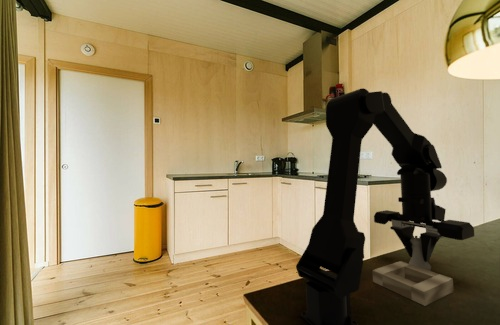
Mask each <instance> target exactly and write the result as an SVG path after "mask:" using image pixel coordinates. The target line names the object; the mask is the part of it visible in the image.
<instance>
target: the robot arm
mask: <svg viewBox="0 0 500 325" xmlns="http://www.w3.org/2000/svg"><path fill="white" fill-rule="evenodd" d="M325 126H326V128H327V130H328V132H329V134H330V136H331V147H330V154H329V155H330V156H329V165H328V171H327V181H326V189H325V198H324V206H323V212H322V215H321V217H320V218H319V219H318V221H317V222H316V223H315V225H314V226H313V227H312V229H311V234H310V237H309V241H308V245H307V246H306V248H305V250H304V251H303V253H302V255H301V257H300V258H299V260H298V261H297V263H296V265H295V266H296V267H295V269H296V271H297V272H296V273H297V274H298V277H300V278H302V279H304V280H307V281H308V282H307V281H306V282H305V293H306V310H303V311H301V312H300V316H301V318H302V319H304V320H305V321H306V322H307V323H308V324H310V325H359V323H358V321H357V320H355V319H354V318H352V317H351V295H350V294H352V293H355V292H357V291H359V288H360V283H361V278H362V269H363V265H364V259H365V254H364V253H365V250H364V249H365V243H366V236H365V233H364V232H362V231H359V229H358V227H357V224H356V223H355V220H354V217H355V210H356V209H355V208H356V201H357V200H356V199H357V190H358V189H357V188H358V180H359V168H360V159H361V150H362V142H363V139H364V138H365V136H366V135H367V134H368V133H369V131H370V130H371V129H372V127H373V126H375V128H376V129H377V130H378V131H379V132H380V133H381V135H382V136H383V137H384V139H385V140H386V141H387V142H388V143H389V144H390V146H391V147H392V150H391V156H392V158H393V159H394V161H395V162H396V164H397V165H398V167H400V168H399V169H398V171H397V172H396V175H398V176H400V192H401V197H398V199H397V200H398V201H397V202H399V203H401V210H402V213H400V212H399V211H392V210H380V211H376V212H375V214H374V215H373V222H374V223H375V224H380V225H386V224H388V223H389V222H391V226H389V227H390V228H389V229H390V230H393V232H394V233H395V235H396V236H397V238H398V239H399V240H400V243H402V246H403V247H404V248H405V251H406V253H407V254H408V255H409V257H410V258H412V252H413V249H412V243H411V241H410V240H411V238H412V236H414V232H415V229H416V227H418V228H422V229H425V232H422V233H420V236H421V244H422V253H423V258H424V261H425V262H428V263H429V261H430V259H431V256H432V254H433V252H434V250H435V247H436V244H437V243H438V242H439V240H440V239H441V238H447V239H451V240H457V241H463V240H467V239H470V238H474V237H475V228H474V225H472V224H471V223H470V222H467V221H461V220H454V219H447V220H445V217H446V208H444V207H442V206H441V205H439V204H436V202H435V197H432V193H431V192H434V191H439V190H442V189H443V188H444V187H445V186H446V185H447V183H448V182H447V181H448V179H447V177H446V175H445V173H444V172H443V171H442V170H441V169H442V168H443V167H442V163H441V161H440V158H439V155H438V154H437V150H436V147H435V145H434V144H432V142H431V141H430V140H428V138H427V137H426V136H424V135H423V134H418V133H415V132H414V131H413V130H412V129H411V128H410V126H409V124H408V123H407V122H406V121H405V119H404V117H403V116H401V114H400V113H399V112H398V110H397V109H396V107H395V106H394V104H393V103H392V98H391V96H390V94H389V93H388V92H383V91H382V90H381V91H369V90H367V89H366V88H364V87H363V88H359V89H356V90H353V91H351V92H348V93H344V94H341V95H338V96H336V97H333V98H332V99H330V100H329V101H327V102H326V108H325Z"/></svg>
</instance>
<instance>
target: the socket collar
mask: <svg viewBox="0 0 500 325" xmlns="http://www.w3.org/2000/svg"><path fill="white" fill-rule="evenodd" d="M431 271H432V270H431ZM431 271H428V270H425V269H422V268H419V267H417V266H414V265H411V264H409V262H408V263H407V262H405V261H402V260H399V261H396V262H394V263H390V264H388V265H383V266H381V267H378V268H375V269H373V270H372V282H373V283H375V284H377V285H379V286H381V287H384V288H386V289H388V290H390V291H392V292H394V293H396V294H398V295H400V296H403V297H404V298H406V299H408V300H411V301H413V302H415V303H418V304H420V305H422V306H424V307H426V306H428V305H430V304H432V303H435V302H436V301H438V300H440V299H442V298H444V297H445V296H447V295H449V294H452V293H454V280H453V277H452V278H451V277H449V276H447V275H443V274H440V273H436V272H434V271H432V272H431Z"/></svg>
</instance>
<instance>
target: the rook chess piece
mask: <svg viewBox="0 0 500 325" xmlns="http://www.w3.org/2000/svg"><path fill="white" fill-rule="evenodd" d="M410 241H411V243H412V249H413V252H412V257H410V260H409V261H408V264H411V265H414V266H417V267H419V268H422V269H425V270H428V271H431V272H433V271H432V265H431V264H430V263H429V261H428V262H425V261H424V258H423V253H422V244H421V236H418V235H413V236H412V238H411V240H410Z"/></svg>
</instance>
